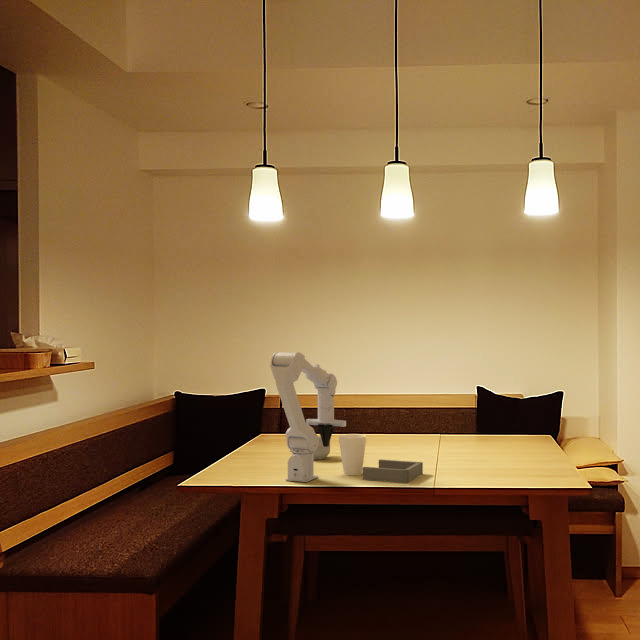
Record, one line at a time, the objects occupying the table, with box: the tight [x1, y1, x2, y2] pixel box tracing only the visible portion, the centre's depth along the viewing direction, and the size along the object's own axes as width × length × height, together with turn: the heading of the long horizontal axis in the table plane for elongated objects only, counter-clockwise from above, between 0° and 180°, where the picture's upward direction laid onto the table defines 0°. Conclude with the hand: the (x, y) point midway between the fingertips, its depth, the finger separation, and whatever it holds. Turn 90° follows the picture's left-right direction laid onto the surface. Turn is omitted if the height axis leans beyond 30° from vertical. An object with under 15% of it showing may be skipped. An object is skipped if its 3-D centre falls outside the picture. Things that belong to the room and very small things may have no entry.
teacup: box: [313, 436, 331, 461], centre depth 318 cm, size 14×11×8 cm
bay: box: [362, 459, 424, 484], centre depth 279 cm, size 17×16×4 cm
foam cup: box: [338, 433, 367, 476], centre depth 285 cm, size 10×9×13 cm
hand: (326, 446), depth 289 cm, fingers closed
